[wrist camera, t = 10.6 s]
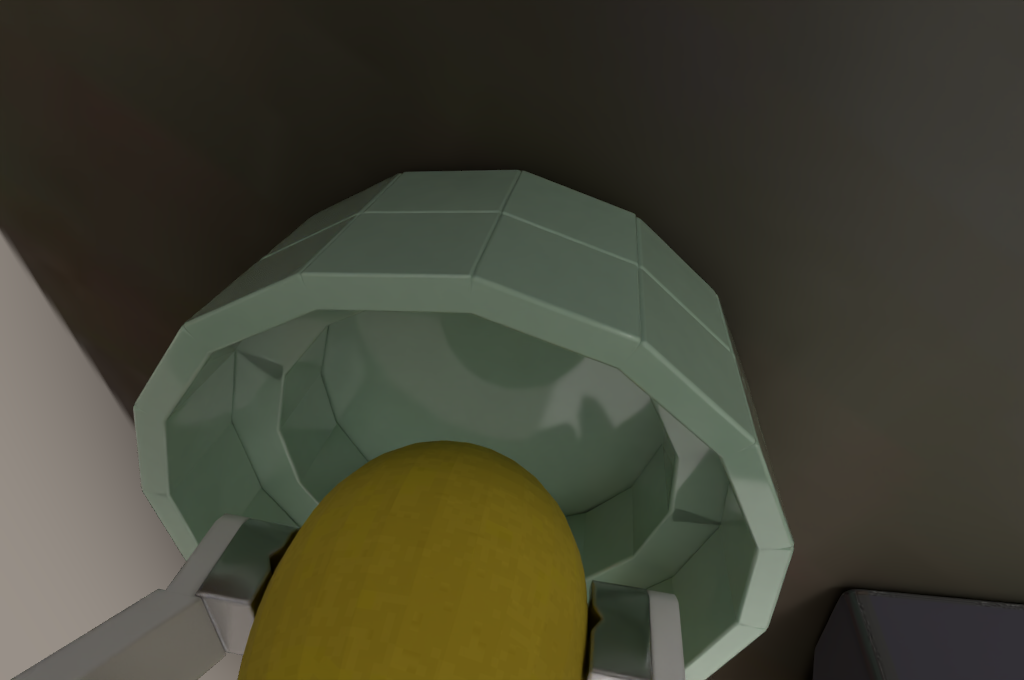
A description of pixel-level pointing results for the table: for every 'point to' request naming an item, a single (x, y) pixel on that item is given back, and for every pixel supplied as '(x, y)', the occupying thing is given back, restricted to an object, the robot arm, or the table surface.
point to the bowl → (485, 386)
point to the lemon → (427, 577)
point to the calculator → (920, 638)
